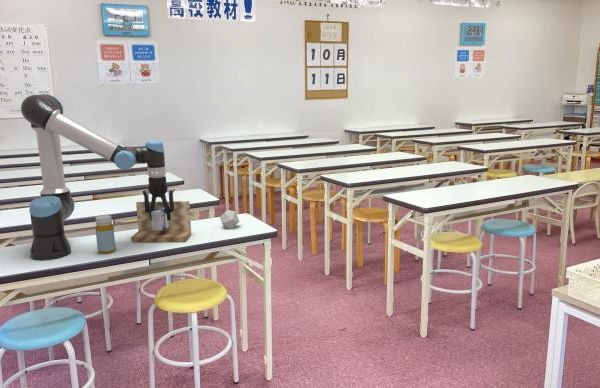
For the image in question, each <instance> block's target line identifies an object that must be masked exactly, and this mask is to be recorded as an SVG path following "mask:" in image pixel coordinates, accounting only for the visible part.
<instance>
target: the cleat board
mask: <svg viewBox="0 0 600 388" xmlns="http://www.w3.org/2000/svg"><path fill="white" fill-rule="evenodd" d="M151 201H152V200H151ZM151 201H150V200H149V209H150V206H151ZM173 201H174V211H173V212H171V213H170V216H171V219H170V220H169V227H168V228H165V229H163V230H153V227H152V221H151V220H150V214H149V213H146V212H145V201H135V202H136V203H135V206H136V218H137V228H138V229H137V230H138V231H137V232H135V233H134V234H133V235H131V237H130V241H131V243H133V244H137V243H138V244H139V243H142V244H143V243H146V244H148V243H186V242H187V241H188V240H189V238H190V237H191V236H192V223H191V222H192V221H191V207H190V201H189V200H178V201H177V200H173ZM167 202H168V205H169V208H170V203H169V200H167ZM158 208H165V207H164V205H163V202H162V200H161V201H157V200H156V202H155V207H154V210H156V209H158Z"/></svg>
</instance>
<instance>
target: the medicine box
mask: <svg viewBox="0 0 600 388" xmlns="http://www.w3.org/2000/svg"><path fill="white" fill-rule="evenodd" d="M165 213H166V210H165V208H158V209H156V210H154V211H152V212H151V215H152V227H153V230H163V229H165V228H166V224H165Z"/></svg>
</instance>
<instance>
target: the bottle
mask: <svg viewBox="0 0 600 388" xmlns="http://www.w3.org/2000/svg"><path fill="white" fill-rule="evenodd" d="M112 217H113V216H112V215H111V214H102V215H98V216H96V217H95V236H96V244H97V247H96V248H97V252H98V253H99V254H101V255H107V254H112V253H114V252H115V251H116V247H117V246H116V240H115V239H116V237H115V228H114V227H115V226H114V225H113V219H112Z"/></svg>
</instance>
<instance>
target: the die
mask: <svg viewBox="0 0 600 388" xmlns="http://www.w3.org/2000/svg"><path fill="white" fill-rule="evenodd" d="M219 219H220V223H221V224H222V226H223V227H224V228H225V229H230V230H232V229H233V228H235V226H236V225H238V224H239V223H240V219H239V216H238V214H237V212H236V211H235V210H229V209H227V210H226V211H225V212H224V213H222V214H221V216H220V217H219Z"/></svg>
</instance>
